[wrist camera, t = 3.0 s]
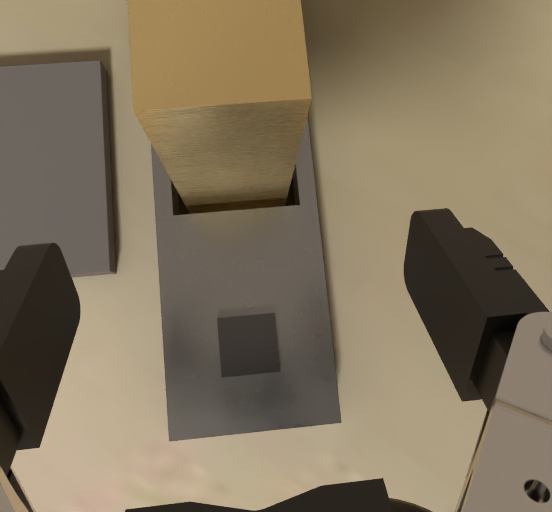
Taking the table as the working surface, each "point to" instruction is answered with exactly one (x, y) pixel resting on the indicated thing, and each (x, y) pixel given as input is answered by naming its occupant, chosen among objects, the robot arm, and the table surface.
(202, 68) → the brass block
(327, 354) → the rail
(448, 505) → the table surface
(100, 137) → the mat
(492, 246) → the robot arm
